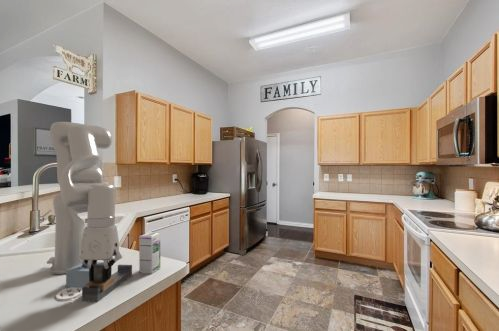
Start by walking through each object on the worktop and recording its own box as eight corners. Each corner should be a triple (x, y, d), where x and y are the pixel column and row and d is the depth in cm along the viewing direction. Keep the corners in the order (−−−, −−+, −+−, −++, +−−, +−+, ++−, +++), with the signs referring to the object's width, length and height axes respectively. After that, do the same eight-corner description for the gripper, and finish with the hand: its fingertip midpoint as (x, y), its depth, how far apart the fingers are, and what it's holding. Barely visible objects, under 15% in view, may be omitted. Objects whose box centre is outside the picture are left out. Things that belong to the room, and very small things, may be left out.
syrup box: (152, 274, 89) (152, 236, 89) (138, 272, 90) (139, 235, 91) (160, 268, 95) (161, 232, 95) (147, 267, 96) (148, 231, 96)
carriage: (85, 290, 72) (85, 267, 72) (96, 282, 77) (97, 261, 77) (103, 291, 72) (104, 268, 72) (114, 283, 77) (114, 262, 77)
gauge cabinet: (65, 288, 78) (66, 270, 78) (84, 277, 86) (84, 261, 86) (88, 289, 77) (88, 271, 77) (105, 278, 85) (105, 262, 85)
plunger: (78, 267, 80) (78, 256, 80) (85, 263, 84) (86, 252, 84) (87, 267, 80) (87, 256, 80) (94, 263, 83) (95, 253, 83)
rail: (81, 301, 70) (82, 287, 70) (119, 275, 88) (119, 264, 88) (97, 301, 70) (97, 288, 70) (131, 275, 88) (132, 264, 88)
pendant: (81, 286, 80) (81, 284, 80) (88, 298, 72) (88, 296, 72) (54, 294, 75) (55, 291, 75) (58, 308, 67) (58, 305, 67)
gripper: (67, 224, 72) (65, 284, 71) (118, 225, 71) (117, 286, 70) (85, 219, 79) (84, 274, 79) (132, 220, 78) (131, 275, 78)
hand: (100, 279), depth 74 cm, fingers closed on carriage, 3 cm apart
